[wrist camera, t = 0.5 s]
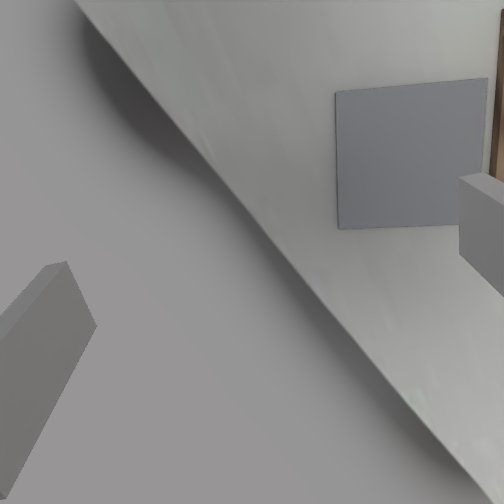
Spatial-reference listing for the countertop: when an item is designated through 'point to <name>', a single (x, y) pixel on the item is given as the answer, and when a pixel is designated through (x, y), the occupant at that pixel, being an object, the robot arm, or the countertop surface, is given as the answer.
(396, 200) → the mat
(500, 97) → the board
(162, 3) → the countertop surface
